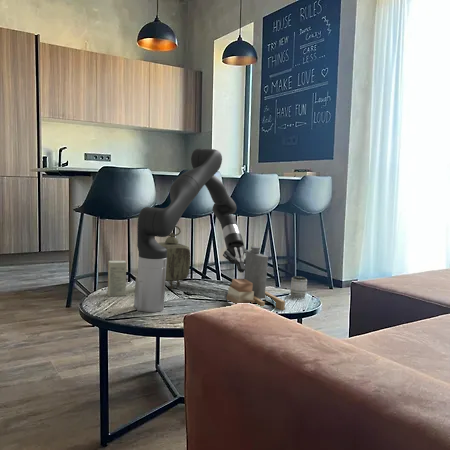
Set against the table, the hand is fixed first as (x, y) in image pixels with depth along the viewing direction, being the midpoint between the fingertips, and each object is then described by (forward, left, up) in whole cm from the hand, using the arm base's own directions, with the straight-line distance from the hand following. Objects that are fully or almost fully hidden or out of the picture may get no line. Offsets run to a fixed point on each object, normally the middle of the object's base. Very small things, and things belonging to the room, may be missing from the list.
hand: (242, 271), depth 181 cm
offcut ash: (-9, -18, -6) cm, 21 cm away
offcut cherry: (-8, -19, -3) cm, 21 cm away
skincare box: (-50, 0, -8) cm, 51 cm away
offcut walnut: (-9, -18, -9) cm, 22 cm away
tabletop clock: (-28, +8, -8) cm, 30 cm away
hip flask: (0, -10, -8) cm, 13 cm away
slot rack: (0, -13, -8) cm, 16 cm away
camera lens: (+21, -9, -8) cm, 25 cm away
